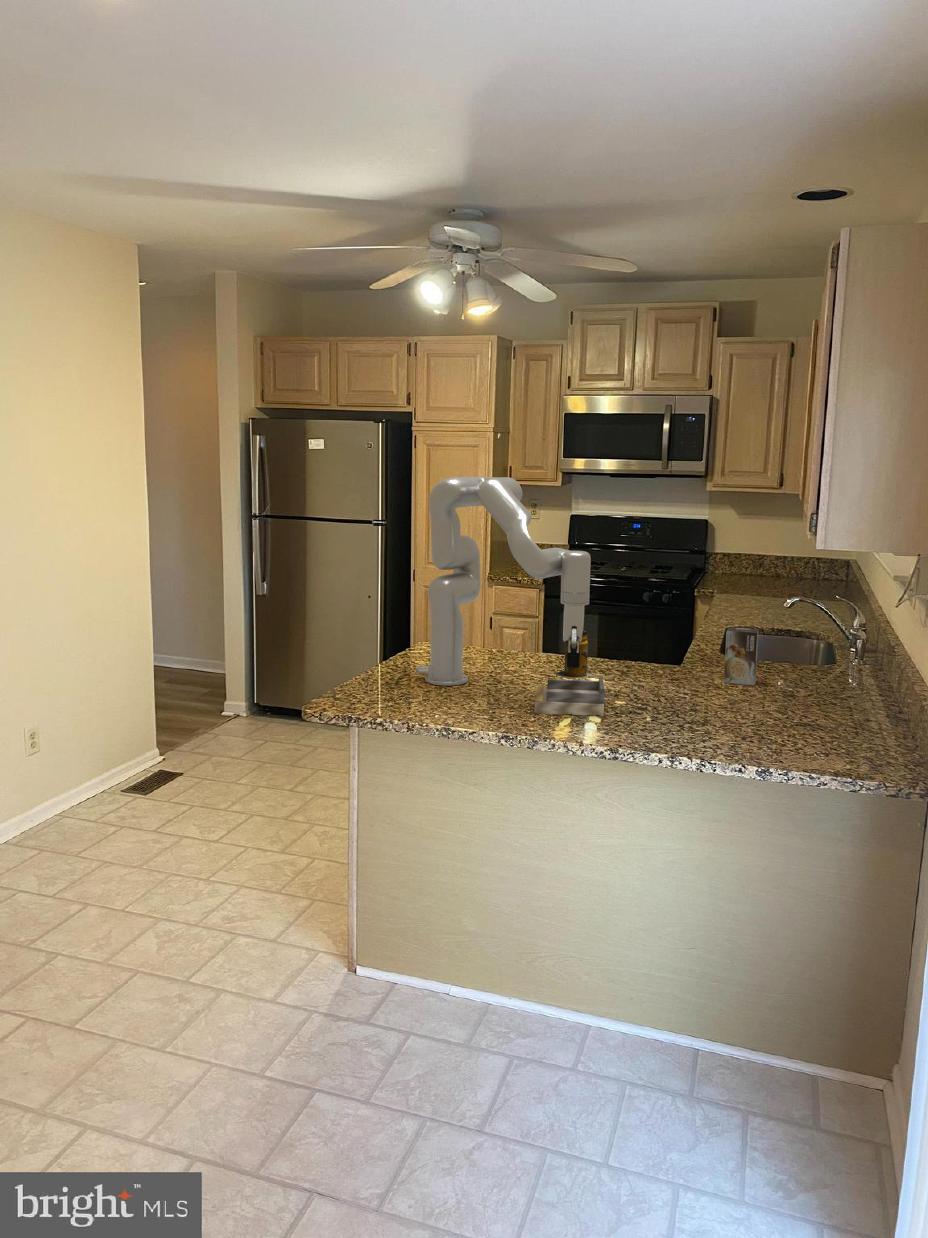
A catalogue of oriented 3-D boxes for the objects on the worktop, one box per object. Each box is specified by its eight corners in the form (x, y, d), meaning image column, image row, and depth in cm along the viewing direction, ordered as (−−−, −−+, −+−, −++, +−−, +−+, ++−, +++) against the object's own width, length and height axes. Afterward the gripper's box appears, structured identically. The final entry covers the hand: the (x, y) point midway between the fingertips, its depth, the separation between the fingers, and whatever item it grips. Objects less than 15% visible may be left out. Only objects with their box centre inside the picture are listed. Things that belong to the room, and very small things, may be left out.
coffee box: (756, 681, 280) (760, 628, 277) (754, 686, 274) (758, 632, 271) (725, 677, 283) (728, 626, 280) (722, 682, 277) (726, 630, 274)
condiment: (593, 675, 248) (595, 631, 245) (569, 679, 243) (570, 635, 241) (576, 670, 254) (577, 627, 251) (551, 674, 249) (552, 630, 247)
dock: (534, 713, 244) (535, 687, 242) (536, 696, 259) (537, 672, 258) (603, 716, 242) (604, 690, 241) (601, 699, 258) (602, 675, 256)
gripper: (560, 592, 254) (559, 656, 257) (560, 603, 237) (558, 671, 240) (588, 593, 253) (586, 657, 256) (590, 603, 236) (587, 672, 240)
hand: (572, 663), depth 248 cm, fingers closed on condiment, 6 cm apart
